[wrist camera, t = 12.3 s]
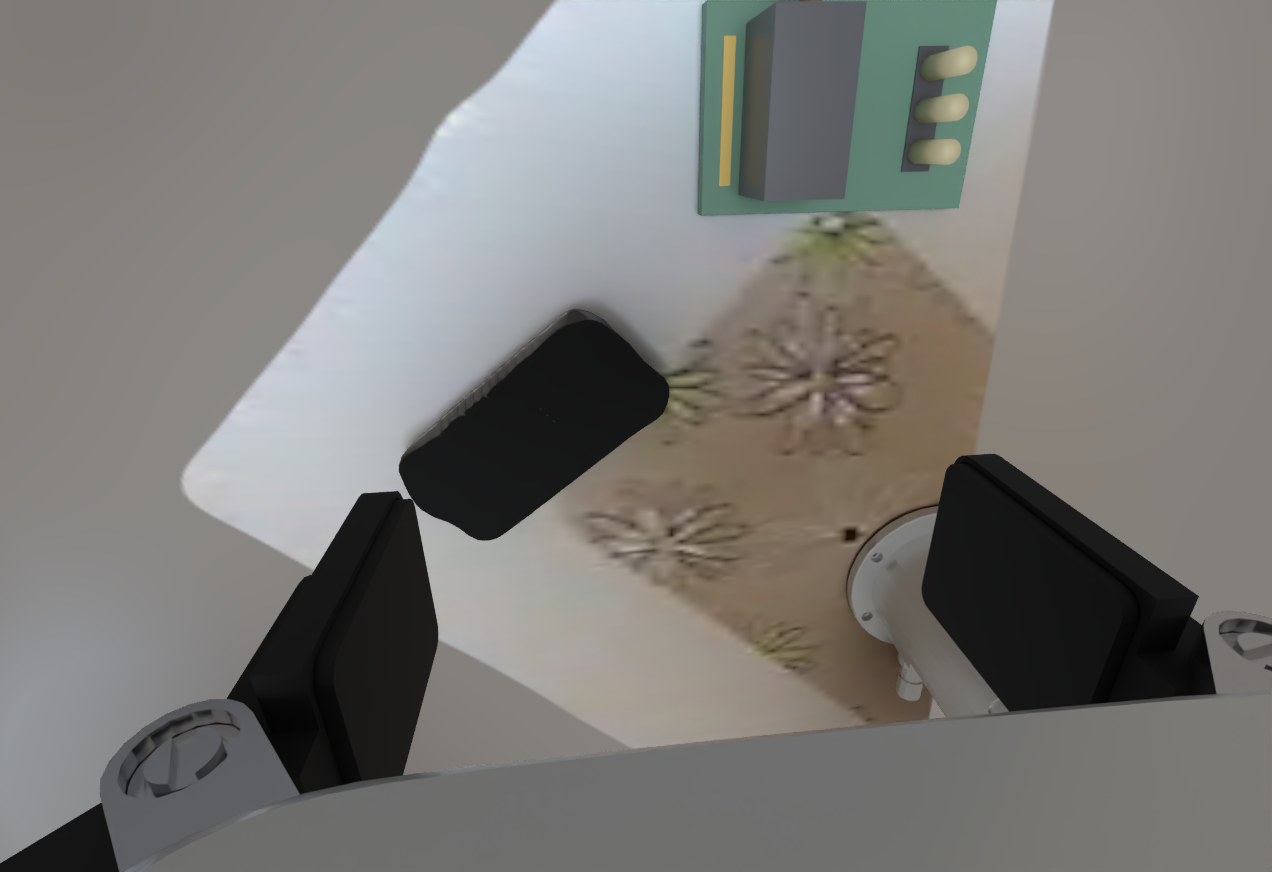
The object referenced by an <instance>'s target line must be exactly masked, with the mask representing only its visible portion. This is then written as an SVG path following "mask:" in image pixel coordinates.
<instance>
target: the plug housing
mask: <svg viewBox="0 0 1272 872" xmlns="http://www.w3.org/2000/svg"><path fill="white" fill-rule="evenodd" d="M866 5H867V1H822V0H799V1H776V2H775V3H774V4H772V5H771V6H770V7H768V8H767V9H765V10H764V11H763V12H761V13H760V14H759V15H757V16H756V17H754V18H753V19H752V20H750V21H749V22H748V23H746V39H745V61H744V83H743V104H742V126H741V148H740V170H739V191H738V195H741V196H745V197H749V198H753V199H757V200H761V201H793V200H828V199H845V191H846V183H847V174H848V165H849V156H850V147H851V138H852V129H853V120H854V112H855V103H856V94H857V85H858V76H859V67H860V58H861V49H862V41H863V32H864V23H865V14H866Z"/></svg>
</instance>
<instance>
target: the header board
mask: <svg viewBox="0 0 1272 872" xmlns="http://www.w3.org/2000/svg"><path fill="white" fill-rule="evenodd" d="M776 1H799V0H707V1H706V2H705V3H704V4H703V5H702V45H701V91H700V137H699V183H698V214H700V215H737V214H772V213H806V212H841V211H876V210H910V209H945V208H959V202H960V197H961V192H962V186H963V181H964V175H965V170H966V165H967V159H968V154H969V148H970V143H971V138H972V132H973V127H974V122H975V116H976V111H977V105H978V100H979V95H980V89H981V84H982V78H983V73H984V68H985V62H986V57H987V51H988V46H989V41H990V35H991V30H992V25H993V19H994V14H995V8H996V3H997V0H822V1H867V5H866V14H865V23H864V32H863V41H862V49H861V58H860V67H859V76H858V85H857V94H856V103H855V112H854V120H853V129H852V138H851V147H850V156H849V165H848V174H847V183H846V191H845V199H828V200H793V201H761V200H757V199H753V198H749V197H745V196H741V195H738V191H739V170H740V148H741V126H742V104H743V83H744V61H745V39H746V23H748V22H749V21H750V20H752V19H753V18H754V17H756V16H757V15H759V14H760V13H761V12H763V11H764V10H765V9H767V8H768V7H770V6H771V5H772V4H774V3H775V2H776Z"/></svg>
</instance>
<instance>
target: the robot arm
mask: <svg viewBox="0 0 1272 872" xmlns="http://www.w3.org/2000/svg"><path fill="white" fill-rule="evenodd" d="M847 596H848V601H849V606H850V608H851V610H852V612H853V614H854V616H855V618H856V619H857V620H858V622H859V623H860V625H861V626H862V628H863V629H864V630H866V631H867V632H868V633H869V634H870V635H871V636H873V637H875V638H877V639H879V640H881V641H883V642H887V643H890V644H893V645H894V646H895V648H896V649H897V651H898V652H899V653H898V657H897V658H898V661H899V663H900V664H901V668H900V670H899V672H898V677H897V681H896V686H895V691H896V692H897V694H898V695H899V696H900V697H901V698H903V699H905V700H908V701H917V700H918V699H920V696H921V693H922V689H923V684H924V685H925V686H926V688H927V689H928V690H929V692H930V693H931V695H932V696H933V698H934V699H935V701H936V702H937V704H938V705H939V707H940V708H941V710H942V711H943V713H944V714H945V716H946V717H947V718H937V719H926V720H916V721H906V722H896V723H885V724H875V725H865V726H854V727H844V728H834V729H824V730H814V731H804V732H794V733H784V734H774V735H763V736H753V737H743V738H733V739H723V740H714V741H704V742H695V743H685V744H675V745H666V746H656V747H647V748H637V749H628V750H618V751H608V752H599V753H590V754H580V755H570V756H561V757H551V758H541V759H532V760H523V761H514V762H504V763H495V764H486V765H476V766H467V767H459V768H451V769H444V770H437V771H430V772H423V773H416V774H409V775H403V773H404V769H405V765H406V762H407V758H408V754H409V750H410V746H411V743H412V739H413V735H414V732H415V728H416V724H417V720H418V717H419V713H420V709H421V705H422V701H423V697H424V694H425V690H426V687H427V683H428V679H429V675H430V672H431V668H432V664H433V660H434V657H435V653H436V649H437V644H438V624H437V619H436V614H435V608H434V603H433V598H432V593H431V588H430V583H429V577H428V572H427V567H426V562H425V557H424V551H423V546H422V541H421V536H420V531H419V525H418V520H417V515H416V510H415V506H414V503H413V500H411V499H403V498H402V496H401V494H400V493H399V492H398V491H394V492H378V493H363V494H361V495H360V497H359V498H358V500H357V501H356V503H355V505H354V506H353V508H352V510H351V511H350V513H349V515H348V516H347V518H346V519H345V521H344V523H343V524H342V526H341V528H340V529H339V531H338V533H337V534H336V536H335V537H334V539H333V541H332V542H331V544H330V546H329V547H328V549H327V551H326V552H325V554H324V556H323V557H322V559H321V560H320V562H319V564H318V565H317V567H316V569H315V570H314V572H313V574H312V575H309V576H307V577H304V578H303V580H302V581H301V582H300V583H299V584H298V586H297V587H296V589H295V591H294V592H293V594H292V595H291V597H290V598H289V600H288V602H287V603H286V605H285V606H284V608H283V610H282V611H281V613H280V614H279V616H278V618H277V619H276V621H275V622H274V624H273V626H272V627H271V629H270V630H269V632H268V634H267V635H266V637H265V638H264V640H263V641H262V643H261V645H260V646H259V648H258V650H257V651H256V653H255V654H254V656H253V658H252V659H251V661H250V662H249V664H248V666H247V667H246V669H245V670H244V672H243V674H242V675H241V677H240V678H239V680H238V681H237V683H236V685H235V686H234V688H233V689H232V691H231V693H230V694H229V696H228V697H227V699H210V700H206V701H202V702H197V703H194V704H189V705H187V706H184V707H182V708H179V709H177V710H174V711H172V712H170V713H167V714H165V715H164V716H162V717H160V718H159V719H157V720H156V721H154V722H152V723H150V724H149V725H147V726H145V727H144V728H142V729H141V730H140V731H139V732H138V733H136V734H135V735H134V736H133V737H132V738H131V739H129V740H128V741H127V742H126V743H124V745H123V746H122V747H121V748H120V749H119V750H118V752H117V753H116V754H115V755H114V756H113V757H112V759H111V760H110V761H109V763H108V765H107V767H106V769H105V771H104V773H103V775H102V777H101V780H100V798H101V802H102V803H100V804H98V805H96V806H95V807H93V808H91V809H90V810H88V811H87V812H85V813H83V814H82V815H80V816H78V817H77V818H75V819H73V820H72V821H70V822H68V823H67V824H65V825H63V826H62V827H60V828H59V829H57V830H55V831H53V832H52V833H50V834H48V835H47V836H45V837H43V838H42V839H40V840H38V841H37V842H35V843H33V844H32V845H30V846H29V847H27V848H25V849H23V850H22V851H20V852H19V853H17V854H15V855H13V856H12V857H10V858H8V859H7V860H5V861H3V862H2V863H0V872H1272V618H1269V617H1266V616H1261V615H1256V614H1252V613H1247V612H1237V611H1222V612H1216V613H1212V614H1211V615H1210V616H1208V617H1207V618H1205V620H1204V622H1203V624H1202V625H1201V624H1199V623H1198V622H1197V621H1195V620H1194V619H1193V618H1191V617H1190V615H1191V613H1192V611H1193V608H1194V606H1195V604H1196V602H1197V599H1198V597H1199V596H1198V595H1196V594H1195V593H1193V592H1192V591H1190V590H1189V589H1188V588H1186V587H1185V586H1183V585H1182V584H1181V583H1179V582H1178V581H1176V580H1175V579H1174V578H1172V577H1171V576H1169V575H1168V574H1166V573H1165V572H1164V571H1162V570H1161V569H1159V568H1158V567H1156V566H1155V565H1153V564H1152V563H1151V562H1149V561H1148V560H1146V559H1145V558H1143V557H1142V556H1141V555H1139V554H1138V553H1137V552H1135V551H1134V550H1132V549H1131V548H1129V547H1128V546H1127V545H1125V544H1124V543H1122V542H1121V541H1120V540H1118V539H1117V538H1115V537H1114V536H1112V535H1111V534H1110V533H1108V532H1107V531H1105V530H1104V529H1102V528H1101V527H1100V526H1098V525H1097V524H1095V523H1094V522H1093V521H1091V520H1089V519H1088V518H1087V517H1085V516H1084V515H1083V514H1081V513H1080V512H1078V511H1077V510H1075V509H1074V508H1072V507H1071V506H1070V505H1068V504H1067V503H1066V502H1064V501H1063V500H1061V499H1060V498H1058V497H1057V496H1056V495H1054V494H1053V493H1051V492H1050V491H1048V490H1047V489H1046V488H1044V487H1043V486H1041V485H1040V484H1039V483H1037V482H1036V481H1034V480H1033V479H1031V478H1030V477H1029V476H1027V475H1026V474H1024V473H1023V472H1021V471H1020V470H1019V469H1017V468H1016V467H1014V466H1013V465H1012V464H1010V463H1009V462H1007V461H1006V460H1004V459H1003V458H1002V457H1000V456H998V455H996V454H983V455H967V456H961V457H959V458H958V459H957V460H956V461H955V463H954V464H952V465H950V466H949V467H948V468H947V470H946V473H945V478H944V483H943V487H942V492H941V497H940V501H939V506H935V507H930V508H925V509H920V510H918V511H915V512H912V513H909V514H907V515H904V516H903V517H901V518H899V519H897V520H895V521H893V522H891V523H890V524H888V525H887V526H886V527H884V528H883V529H882V530H880V531H879V532H878V533H877V534H876V535H875V536H874V537H873V538H872V539H871V540H870V541H869V542H868V543H867V544H866V545H865V546H864V548H863V549H862V550H861V552H860V553H859V555H858V556H857V558H856V560H855V562H854V564H853V566H852V568H851V571H850V575H849V578H848V584H847Z"/></svg>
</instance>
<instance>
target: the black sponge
mask: <svg viewBox="0 0 1272 872" xmlns="http://www.w3.org/2000/svg"><path fill="white" fill-rule="evenodd" d="M668 398H669V385H668V383H667V382H666V380H665V378H664V377H663V376H661V375H660V374H659V373H658V372H657V371H655V370H654V369H653V368H652V367H651V366H649V365H648V364H647V363H646V362H644V361H643V359H642V358H641V357H640V356H639V355H638V354H637V352H636V351H635V350H634V349H633V348H632V347H631V345H630V344H629V343H628V342H626V341H625V340H624V339H623V338H622V337H621V336H620V335H618V334H617V333H616V332H615V331H614V330H613V329H612V328H611V327H610V326H609V325H608V324H607V323H606V322H605V321H604V320H603V319H601V318H600V317H598V316H596V315H594V314H592V313H589V312H587V311H583V310H579V309H573V310H570V311H567V312H565V313H564V314H563V315H562V316H561V317H559V318H558V319H557V320H556V321H555V322H553V323H552V324H551V325H550V326H549V327H548V328H546V329H545V330H544V331H543V332H542V333H540V334H539V335H538V336H537V337H536V338H534V339H533V340H532V341H531V342H530V343H529V344H528V345H527V346H525V347H523V348H522V349H521V350H520V351H519V352H518V353H517V354H516V355H515V356H514V357H512V358H511V359H510V360H509V361H508V362H507V363H506V364H505V365H503V366H502V367H501V368H500V369H499V370H498V371H496V372H495V373H494V374H493V375H492V376H491V377H490V378H489V379H487V380H486V381H484V382H483V383H482V384H481V385H480V386H479V387H478V388H476V389H474V390H473V391H472V392H471V393H470V394H469V395H468V396H466V397H465V398H464V399H463V400H462V401H461V402H460V403H459V404H458V405H457V406H455V407H454V408H452V409H451V410H450V411H449V412H448V413H447V414H445V415H444V416H443V417H442V419H441V420H440V421H438V422H437V423H436V424H435V425H434V426H432V427H431V428H430V429H429V430H428V431H426V432H425V433H424V434H423V435H422V436H420V437H419V438H418V439H417V440H416V441H415V442H414V443H413V444H412V445H411V447H410V448H408V449H407V451H406V452H405V453H404V454H403V455H402V457H401V461H400V464H399V473H400V475H401V478H402V480H403V482H404V485H405V487H406V489H407V491H408V493H409V495H410V496H411V498H412V499H413V501H414V502H415V503H416V505H417V506H418V507H419V508H420V509H421V510H423V511H425V512H426V513H428V514H429V515H431V516H433V517H435V518H438V519H441V520H444V521H446V522H449V523H451V524H453V525H455V526H456V527H458V528H460V529H461V530H462V531H464V532H465V533H466V534H468V535H469V536H471V537H473V538H475V539H477V540H483V541H484V540H492V539H496V538H498V537H500V536H501V535H503V534H504V533H506V532H507V531H509V530H510V529H511V528H513V527H514V526H515V525H517V524H518V523H519V522H521V521H522V520H523V519H525V518H526V517H527V516H529V515H530V514H532V513H533V512H534V511H535V510H536V509H538V508H539V507H540V506H542V505H543V504H544V503H546V502H547V501H548V500H550V499H551V498H552V497H553V496H555V495H556V494H557V493H558V492H560V491H561V490H562V489H564V488H565V487H566V486H568V485H569V484H570V483H572V482H573V481H574V480H575V479H577V478H578V477H579V476H581V475H582V474H583V473H584V472H586V471H587V470H588V469H590V468H591V467H592V466H593V465H595V464H596V463H597V462H599V461H600V460H601V459H602V458H604V457H605V456H606V455H608V454H609V453H610V452H612V451H613V450H614V449H615V448H617V447H618V446H619V445H621V444H622V443H623V442H624V441H626V440H627V439H628V438H630V437H631V436H632V435H634V434H635V433H637V432H638V431H640V430H641V429H642V428H644V427H646V426H647V425H649V424H650V423H652V422H653V421H655V420H656V419H658V418H659V417H660V416H661V415H662V414H663V412H664V410H665V408H666V405H667V403H668Z"/></svg>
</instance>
